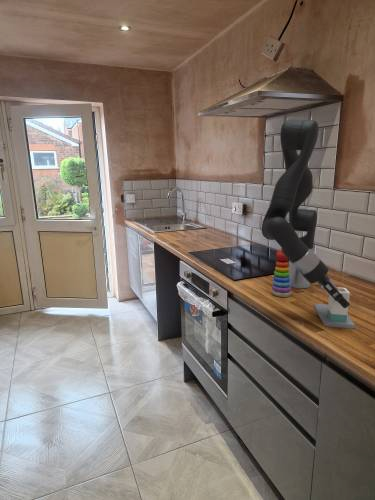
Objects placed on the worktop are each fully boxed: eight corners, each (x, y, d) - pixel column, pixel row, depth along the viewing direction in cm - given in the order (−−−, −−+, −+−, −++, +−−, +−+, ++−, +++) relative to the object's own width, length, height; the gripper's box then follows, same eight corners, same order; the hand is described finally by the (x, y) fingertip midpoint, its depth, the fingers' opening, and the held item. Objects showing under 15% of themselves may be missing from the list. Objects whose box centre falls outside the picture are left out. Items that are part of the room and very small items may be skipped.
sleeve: (326, 314, 109) (330, 286, 107) (341, 316, 108) (345, 287, 106) (330, 321, 105) (334, 292, 102) (346, 322, 104) (350, 292, 102)
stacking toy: (287, 290, 135) (290, 247, 131) (294, 297, 127) (298, 251, 123) (268, 290, 135) (271, 247, 131) (274, 298, 127) (277, 251, 123)
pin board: (313, 306, 119) (315, 290, 118) (339, 308, 118) (341, 292, 116) (324, 326, 104) (326, 308, 102) (354, 328, 102) (357, 310, 101)
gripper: (324, 263, 96) (360, 302, 97) (314, 252, 110) (345, 286, 111) (304, 279, 98) (339, 317, 99) (296, 266, 112) (327, 300, 113)
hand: (342, 301), depth 105 cm, fingers open, 8 cm apart
